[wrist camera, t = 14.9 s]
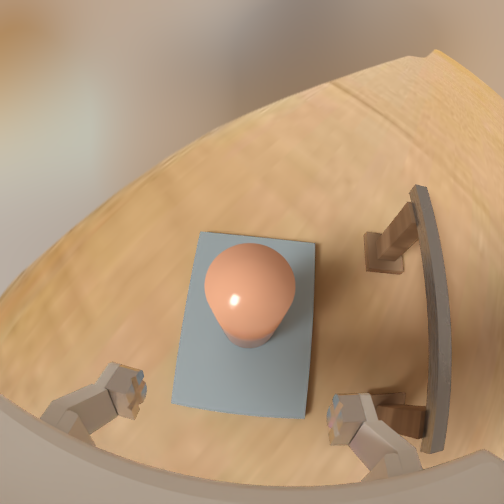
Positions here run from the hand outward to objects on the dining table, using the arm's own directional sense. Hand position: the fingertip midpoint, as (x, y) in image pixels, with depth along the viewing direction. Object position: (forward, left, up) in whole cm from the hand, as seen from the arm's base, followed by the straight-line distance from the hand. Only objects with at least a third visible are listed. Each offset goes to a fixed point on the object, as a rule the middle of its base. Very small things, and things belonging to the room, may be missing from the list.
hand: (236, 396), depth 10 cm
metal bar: (-13, -5, -4) cm, 15 cm away
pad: (0, -5, -12) cm, 13 cm away
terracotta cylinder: (0, -5, -12) cm, 13 cm away
